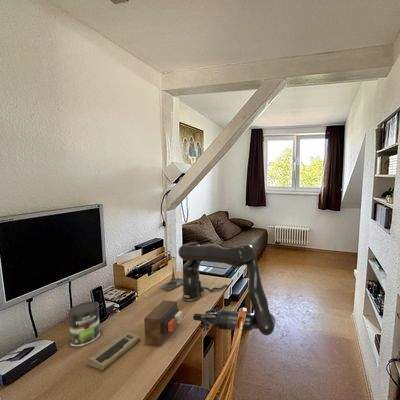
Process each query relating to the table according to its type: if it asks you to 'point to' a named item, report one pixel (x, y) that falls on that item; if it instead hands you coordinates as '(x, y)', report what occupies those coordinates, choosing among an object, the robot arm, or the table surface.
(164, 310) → the key block
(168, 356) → the table surface
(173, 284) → the eiffel tower figurine
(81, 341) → the coffee can
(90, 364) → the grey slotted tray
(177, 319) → the cream key
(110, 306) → the calculator
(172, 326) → the terracotta key
